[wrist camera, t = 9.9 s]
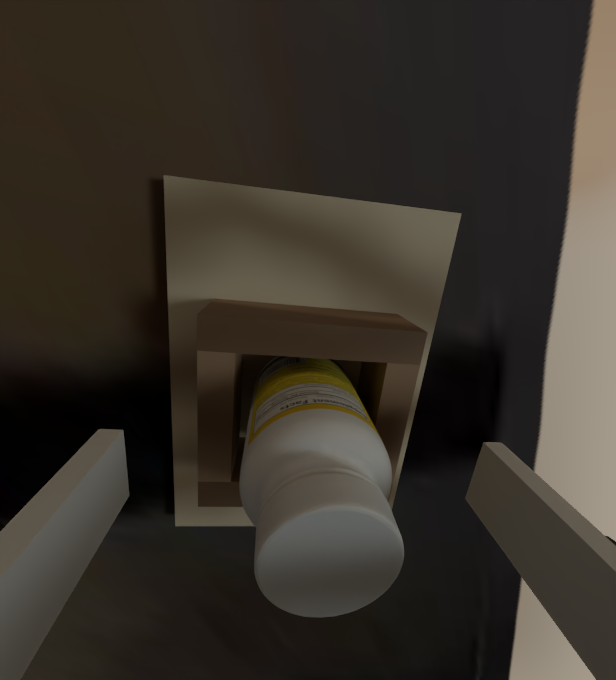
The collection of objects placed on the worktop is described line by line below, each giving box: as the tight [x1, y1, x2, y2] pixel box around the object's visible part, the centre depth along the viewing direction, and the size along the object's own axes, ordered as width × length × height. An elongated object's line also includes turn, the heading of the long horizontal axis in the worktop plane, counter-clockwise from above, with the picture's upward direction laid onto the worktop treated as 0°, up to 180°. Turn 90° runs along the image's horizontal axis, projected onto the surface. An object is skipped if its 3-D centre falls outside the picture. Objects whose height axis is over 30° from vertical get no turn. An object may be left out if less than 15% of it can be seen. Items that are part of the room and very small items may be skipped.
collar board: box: [164, 175, 461, 526], centre depth 16 cm, size 20×14×4 cm
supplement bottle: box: [239, 356, 404, 617], centre depth 12 cm, size 5×5×10 cm
